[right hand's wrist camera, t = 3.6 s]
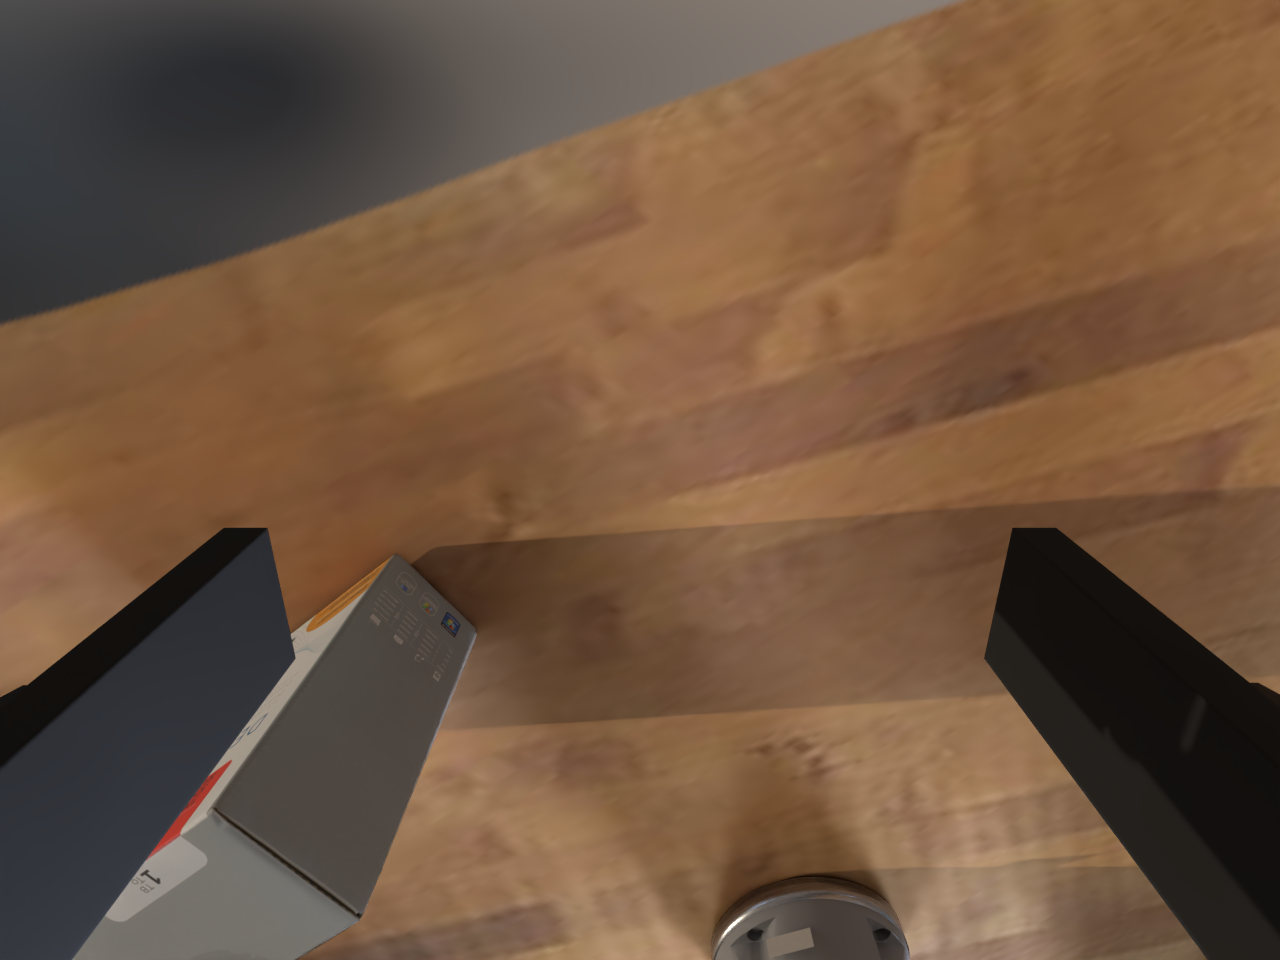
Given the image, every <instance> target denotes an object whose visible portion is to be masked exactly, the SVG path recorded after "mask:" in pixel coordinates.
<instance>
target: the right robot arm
mask: <svg viewBox="0 0 1280 960" xmlns="http://www.w3.org/2000/svg"><path fill="white" fill-rule="evenodd" d="M295 659H296V657H295V652H294V648H293V643H292V639H291V634H290V629H289V625H288V620H287V616H286V611H285V606H284V602H283V597H282V593H281V588H280V583H279V579H278V574H277V570H276V565H275V561H274V556H273V551H272V547H271V542H270V538H269V533H268V528H223V529H222V530H221V531H219V532H218V533H217V534H216V535H214V536H213V537H212V538H211V539H209V540H208V541H207V542H206V543H204V544H203V545H202V546H201V547H199V548H198V549H197V550H196V551H194V552H193V553H192V554H191V555H189V556H188V557H187V558H186V559H184V560H183V561H182V562H181V563H179V564H178V565H177V566H176V567H174V568H173V569H172V570H171V571H169V572H168V573H167V574H166V575H164V576H163V577H162V578H161V579H159V580H158V581H157V582H156V583H154V584H153V585H152V586H151V587H149V588H148V589H147V590H146V591H144V592H143V593H142V594H141V595H139V596H138V597H137V598H136V599H134V600H133V601H132V602H131V603H129V604H128V605H127V606H126V607H124V608H123V609H122V610H121V611H119V612H118V613H117V614H116V615H114V616H113V617H112V618H111V619H109V620H108V621H107V622H106V623H104V624H103V625H102V626H101V627H99V628H98V629H97V630H96V631H94V632H93V633H92V634H91V635H89V636H88V637H87V638H86V639H84V640H83V641H82V642H81V643H79V644H78V645H77V646H76V647H75V648H73V649H72V650H71V651H70V652H68V653H67V654H66V655H65V656H63V657H62V658H61V659H60V660H58V661H57V662H56V663H55V664H53V665H52V666H51V667H50V668H48V669H47V670H46V671H45V672H43V673H42V674H41V675H40V676H38V677H37V678H36V679H35V680H33V681H32V682H31V683H30V684H28V685H23V686H21V687H19V688H17V689H15V690H13V691H12V692H10V693H8V694H6V695H4V696H2V697H0V960H72V959H73V958H74V956H75V955H76V954H77V952H78V951H79V950H80V948H81V947H82V946H83V944H84V943H85V942H86V940H87V939H88V938H89V936H90V935H91V934H92V932H93V931H94V930H95V928H96V927H97V925H98V924H99V923H100V921H101V920H102V919H103V917H104V916H105V915H106V913H107V912H108V911H109V909H110V908H111V907H112V905H113V904H114V903H115V901H116V900H117V899H118V897H119V896H120V894H121V893H122V892H123V890H124V889H125V888H126V886H127V885H128V884H129V882H130V881H131V880H132V878H133V877H134V876H135V874H136V873H137V872H138V870H139V869H140V868H141V866H142V865H143V864H144V862H145V861H146V859H147V858H148V857H149V855H150V854H151V853H152V851H153V850H154V849H155V847H156V846H157V845H158V843H159V842H160V841H161V839H162V838H163V837H164V835H165V834H166V833H167V831H168V830H169V828H170V827H171V826H172V824H173V823H174V822H175V820H176V819H177V818H178V816H179V815H180V814H181V812H182V811H183V810H184V808H185V807H186V806H187V804H188V803H189V802H190V800H191V799H192V798H193V796H194V795H195V793H196V792H197V791H198V789H199V788H200V787H201V785H202V784H203V783H204V781H205V780H206V779H207V777H208V776H209V775H210V773H211V772H212V771H213V769H214V768H215V767H216V765H217V764H218V762H219V761H220V760H221V758H222V757H223V756H224V754H225V753H226V752H227V750H228V749H229V748H230V746H231V745H232V744H233V742H234V741H235V740H236V738H237V737H238V736H239V734H240V733H241V732H242V730H243V729H244V727H245V726H246V725H247V723H248V722H249V721H250V719H251V718H252V717H253V715H254V714H255V713H256V711H257V710H258V709H259V707H260V706H261V705H262V703H263V702H264V701H265V699H266V698H267V696H268V695H269V694H270V692H271V691H272V690H273V688H274V687H275V686H276V684H277V683H278V682H279V680H280V679H281V678H282V676H283V675H284V674H285V672H286V671H287V670H288V668H289V667H290V666H291V664H292V663H293V661H294V660H295ZM984 659H985V660H986V661H987V663H988V664H989V666H990V667H991V668H992V670H993V671H994V672H995V674H996V675H997V676H998V678H999V679H1000V680H1001V682H1002V683H1003V684H1004V686H1005V687H1006V688H1007V690H1008V691H1009V692H1010V694H1011V695H1012V696H1013V698H1014V699H1015V701H1016V702H1017V703H1018V705H1019V706H1020V707H1021V709H1022V710H1023V711H1024V713H1025V714H1026V715H1027V717H1028V718H1029V719H1030V721H1031V722H1032V723H1033V725H1034V726H1035V727H1036V729H1037V730H1038V732H1039V733H1040V734H1041V736H1042V737H1043V738H1044V740H1045V741H1046V742H1047V744H1048V745H1049V746H1050V748H1051V749H1052V750H1053V752H1054V753H1055V754H1056V756H1057V757H1058V758H1059V760H1060V761H1061V762H1062V764H1063V765H1064V767H1065V768H1066V769H1067V771H1068V772H1069V773H1070V775H1071V776H1072V777H1073V779H1074V780H1075V781H1076V783H1077V784H1078V785H1079V787H1080V788H1081V789H1082V791H1083V792H1084V793H1085V795H1086V796H1087V798H1088V799H1089V800H1090V802H1091V803H1092V804H1093V806H1094V807H1095V808H1096V810H1097V811H1098V812H1099V814H1100V815H1101V816H1102V818H1103V819H1104V820H1105V822H1106V823H1107V824H1108V826H1109V827H1110V828H1111V830H1112V831H1113V833H1114V834H1115V835H1116V837H1117V838H1118V839H1119V841H1120V842H1121V843H1122V845H1123V846H1124V847H1125V849H1126V850H1127V851H1128V853H1129V854H1130V855H1131V857H1132V858H1133V859H1134V861H1135V862H1136V864H1137V865H1138V866H1139V868H1140V869H1141V870H1142V872H1143V873H1144V874H1145V876H1146V877H1147V878H1148V880H1149V881H1150V882H1151V884H1152V885H1153V886H1154V888H1155V889H1156V890H1157V892H1158V893H1159V894H1160V896H1161V897H1162V899H1163V900H1164V901H1165V903H1166V904H1167V905H1168V907H1169V908H1170V909H1171V911H1172V912H1173V913H1174V915H1175V916H1176V917H1177V919H1178V920H1179V921H1180V923H1181V924H1182V925H1183V927H1184V928H1185V930H1186V931H1187V932H1188V934H1189V935H1190V936H1191V938H1192V939H1193V940H1194V942H1195V943H1196V944H1197V946H1198V947H1199V948H1200V950H1201V951H1202V952H1203V954H1204V955H1205V956H1206V958H1207V959H1208V960H1280V694H1278V693H1276V692H1274V691H1272V690H1270V689H1269V688H1267V687H1265V686H1263V685H1261V684H1259V683H1249V682H1248V681H1247V680H1245V679H1244V678H1243V677H1242V676H1240V675H1239V674H1238V673H1237V672H1235V671H1234V670H1233V669H1232V668H1230V667H1229V666H1228V665H1227V664H1225V663H1224V662H1223V661H1222V660H1220V659H1219V658H1218V657H1217V656H1215V655H1214V654H1213V653H1212V652H1210V651H1209V650H1208V649H1207V648H1205V647H1204V646H1203V645H1202V644H1201V643H1199V642H1198V641H1197V640H1196V639H1194V638H1193V637H1192V636H1191V635H1189V634H1188V633H1187V632H1186V631H1184V630H1183V629H1182V628H1181V627H1179V626H1178V625H1177V624H1176V623H1174V622H1173V621H1172V620H1171V619H1169V618H1168V617H1167V616H1166V615H1164V614H1163V613H1162V612H1161V611H1159V610H1158V609H1157V608H1156V607H1154V606H1153V605H1152V604H1151V603H1149V602H1148V601H1147V600H1146V599H1144V598H1143V597H1142V596H1141V595H1139V594H1138V593H1137V592H1136V591H1134V590H1133V589H1132V588H1131V587H1129V586H1128V585H1127V584H1126V583H1124V582H1123V581H1122V580H1121V579H1119V578H1118V577H1117V576H1116V575H1114V574H1113V573H1112V572H1111V571H1109V570H1108V569H1107V568H1106V567H1104V566H1103V565H1102V564H1101V563H1099V562H1098V561H1097V560H1096V559H1094V558H1093V557H1092V556H1091V555H1089V554H1088V553H1087V552H1086V551H1084V550H1083V549H1082V548H1081V547H1079V546H1078V545H1077V544H1076V543H1074V542H1073V541H1072V540H1071V539H1069V538H1068V537H1067V536H1066V535H1064V534H1063V533H1062V532H1061V531H1059V530H1058V529H1057V528H1012V533H1011V538H1010V542H1009V547H1008V551H1007V556H1006V560H1005V565H1004V570H1003V574H1002V579H1001V583H1000V588H999V593H998V597H997V602H996V606H995V611H994V616H993V620H992V625H991V629H990V634H989V639H988V643H987V648H986V652H985V657H984ZM711 954H712V960H910V954H909V948H908V945H907V942H906V939H905V936H904V933H903V930H902V928H901V925H900V922H899V919H898V917H897V915H896V913H895V912H894V910H893V909H892V907H891V906H890V905H889V904H888V903H887V902H886V901H885V900H884V899H883V898H882V897H880V896H879V895H878V894H876V893H875V892H873V891H871V890H870V889H868V888H866V887H863V886H861V885H859V884H856V883H853V882H850V881H846V880H842V879H836V878H829V877H801V878H793V879H787V880H783V881H779V882H775V883H772V884H769V885H766V886H764V887H761V888H759V889H757V890H755V891H753V892H751V893H749V894H747V895H746V896H744V897H742V898H741V899H740V900H738V901H737V902H736V903H735V904H733V905H732V906H731V907H730V908H729V909H728V910H727V911H726V912H725V913H724V915H723V916H722V917H721V919H720V920H719V922H718V924H717V925H716V928H715V930H714V933H713V936H712V942H711Z"/></svg>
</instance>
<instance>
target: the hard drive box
mask: <svg viewBox="0 0 1280 960" xmlns="http://www.w3.org/2000/svg"><path fill="white" fill-rule="evenodd" d="M476 636H477V633H476V629H475V627H474V626H473V625H471V624H470V623H469V622H468V621H467V620H466V618H465V617H463V616H462V615H461V614H460V613H459V612H458V611H457V610H456V609H455V608H454V607H453V606H452V605H451V604H450V603H449V602H448V601H447V600H446V599H445V598H444V597H443V596H442V595H440V594H439V593H438V592H437V591H436V590H435V589H434V588H433V587H432V586H431V585H430V584H429V583H428V582H427V581H426V580H425V579H424V578H423V577H422V576H421V575H420V574H419V573H418V572H417V571H416V570H415V569H414V568H413V567H412V566H410V565H409V564H408V563H407V562H406V561H405V560H404V559H403V558H402V557H401V556H400V555H398V554H395V555H393V556H392V557H390V558H389V559H387V560H386V561H385V562H383V563H382V564H381V565H380V566H378V567H377V568H376V569H374V570H373V571H372V572H371V573H369V574H368V575H367V576H365V577H364V578H362V579H361V580H360V581H359V582H357V583H356V584H355V585H353V586H352V587H351V588H350V589H348V590H347V591H346V592H345V593H343V594H342V595H341V596H339V597H338V598H337V599H336V600H334V601H333V602H332V603H330V604H329V605H328V606H326V607H325V608H324V609H323V610H321V611H320V612H319V613H318V614H316V615H315V616H314V617H312V618H311V619H310V620H308V621H307V622H306V623H304V624H303V625H302V626H301V627H300V628H298V629H297V630H296V631H294V632H293V633H292V634H291V639H292V643H293V648H294V652H295V657H296V659H295V660H294V661H293V663H292V664H291V666H290V667H289V668H288V670H287V671H286V672H285V674H284V675H283V676H282V678H281V679H280V680H279V682H278V683H277V684H276V686H275V687H274V688H273V690H272V691H271V692H270V694H269V695H268V696H267V698H266V699H265V701H264V702H263V703H262V705H261V706H260V707H259V709H258V710H257V711H256V713H255V714H254V715H253V717H252V718H251V719H250V721H249V722H248V723H247V725H246V726H245V727H244V729H243V730H242V732H241V733H240V734H239V736H238V737H237V738H236V740H235V741H234V742H233V744H232V745H231V746H230V748H229V749H228V750H227V752H226V753H225V754H224V756H223V757H222V758H221V760H220V761H219V762H218V764H217V765H216V767H215V768H214V769H213V771H212V772H211V773H210V775H209V776H208V777H207V779H206V780H205V781H204V783H203V784H202V785H201V787H200V788H199V789H198V791H197V792H196V793H195V795H194V796H193V798H192V799H191V800H190V802H189V803H188V804H187V806H186V807H185V808H184V810H183V811H182V812H181V814H180V815H179V816H178V818H177V819H176V820H175V822H174V823H173V824H172V826H171V827H170V828H169V830H168V831H167V833H166V834H165V835H164V837H163V838H162V839H161V841H160V842H159V843H158V845H157V846H156V847H155V849H154V850H153V851H152V853H151V854H150V855H149V857H148V858H147V859H146V861H145V862H144V864H143V865H142V866H141V868H140V869H139V870H138V872H137V873H136V874H135V876H134V877H133V878H132V880H131V881H130V882H129V884H128V885H127V886H126V888H125V889H124V890H123V892H122V893H121V894H120V896H119V897H118V899H117V900H116V901H115V903H114V904H113V905H112V907H111V908H110V909H109V911H108V912H107V913H106V915H105V916H104V917H103V919H102V920H101V921H100V923H99V924H98V925H97V927H96V928H95V930H94V931H93V932H92V934H91V935H90V936H89V938H88V939H87V940H86V942H85V943H84V944H83V946H82V947H81V948H80V950H79V951H78V952H77V954H76V955H75V956H74V958H73V959H72V960H297V959H299V958H300V957H302V956H304V955H305V954H307V953H309V952H310V951H312V950H314V949H315V948H317V947H319V946H320V945H322V944H323V943H325V942H327V941H328V940H330V939H331V938H333V937H335V936H336V935H338V934H339V933H341V932H342V931H344V930H346V929H347V928H349V927H350V926H352V925H353V924H355V923H356V922H358V921H359V920H360V919H361V917H362V915H363V913H364V911H365V909H366V906H367V904H368V901H369V899H370V896H371V894H372V892H373V889H374V887H375V885H376V882H377V880H378V877H379V875H380V873H381V871H382V868H383V865H384V862H385V860H386V858H387V855H388V853H389V850H390V848H391V845H392V843H393V840H394V838H395V835H396V833H397V830H398V828H399V825H400V823H401V820H402V818H403V815H404V813H405V810H406V808H407V805H408V803H409V800H410V798H411V796H412V793H413V791H414V788H415V786H416V783H417V781H418V778H419V776H420V773H421V771H422V769H423V766H424V764H425V761H426V759H427V757H428V754H429V752H430V749H431V747H432V744H433V742H434V739H435V737H436V735H437V732H438V730H439V727H440V725H441V722H442V720H443V717H444V715H445V712H446V710H447V708H448V705H449V703H450V700H451V698H452V695H453V693H454V690H455V688H456V686H457V683H458V681H459V678H460V676H461V673H462V671H463V669H464V666H465V664H466V661H467V659H468V656H469V654H470V651H471V649H472V646H473V644H474V641H475V639H476Z"/></svg>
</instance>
